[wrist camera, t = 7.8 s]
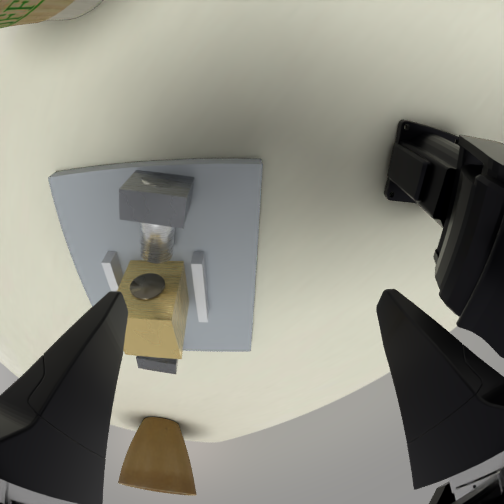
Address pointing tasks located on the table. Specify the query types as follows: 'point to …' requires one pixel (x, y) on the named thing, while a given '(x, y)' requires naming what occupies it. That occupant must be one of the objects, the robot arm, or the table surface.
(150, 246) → the shaft
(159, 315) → the block
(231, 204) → the grey base plate
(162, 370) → the shaft
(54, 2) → the coffee cup
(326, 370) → the table surface
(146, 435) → the plant pot
